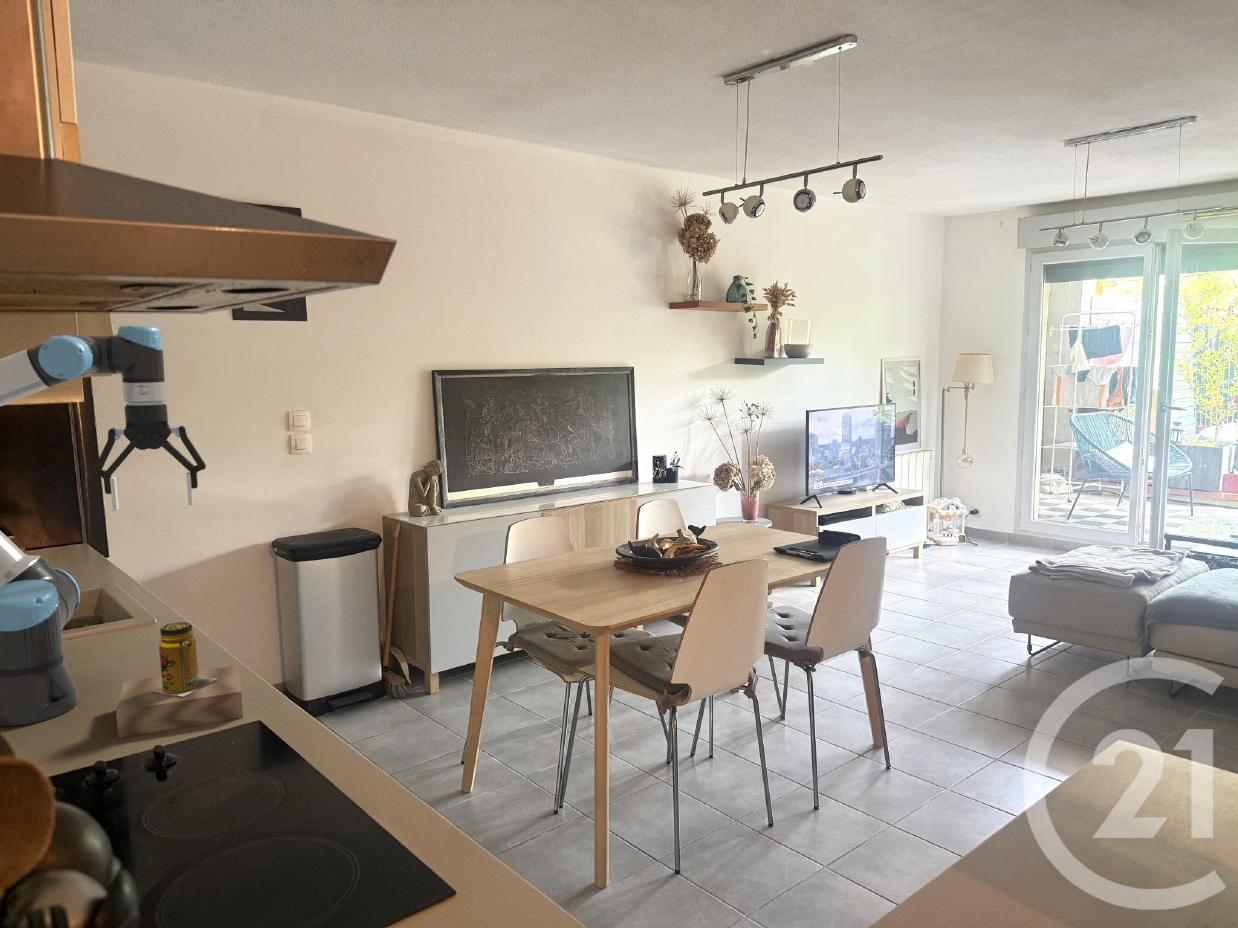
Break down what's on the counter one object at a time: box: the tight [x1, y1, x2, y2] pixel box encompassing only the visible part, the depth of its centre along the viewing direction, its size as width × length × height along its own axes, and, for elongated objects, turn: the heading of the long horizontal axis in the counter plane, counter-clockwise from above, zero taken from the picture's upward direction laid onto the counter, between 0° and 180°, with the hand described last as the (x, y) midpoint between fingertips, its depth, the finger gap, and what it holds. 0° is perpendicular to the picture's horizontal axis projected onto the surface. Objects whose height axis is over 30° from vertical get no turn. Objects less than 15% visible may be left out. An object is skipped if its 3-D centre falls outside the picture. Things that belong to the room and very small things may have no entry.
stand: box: [115, 664, 244, 739], centre depth 162 cm, size 20×14×5 cm
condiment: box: [151, 621, 217, 697], centre depth 161 cm, size 7×8×12 cm
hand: (153, 507), depth 178 cm, fingers open, 13 cm apart
